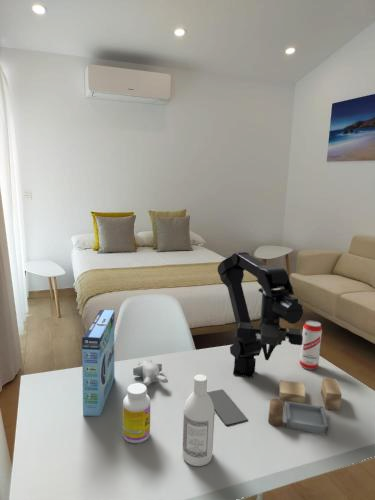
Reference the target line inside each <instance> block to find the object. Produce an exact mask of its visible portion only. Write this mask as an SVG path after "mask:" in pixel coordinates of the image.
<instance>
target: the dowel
mask: <svg viewBox="0 0 375 500" xmlns="http://www.w3.org/2000/svg"><path fill="white" fill-rule="evenodd" d="M284 408H285V401H282V400H281V399H280V398H277V397H275V398H274V397H273V398H271V399H270V400H269V409H268V410H269V411H268V420H267V421H268V424H269V425H270V426H272V427H275V428H279V427H282V426H283V418H284Z"/></svg>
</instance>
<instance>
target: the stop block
mask: <svg viewBox="0 0 375 500" xmlns="http://www.w3.org/2000/svg"><path fill="white" fill-rule="evenodd" d="M320 390H321V391H320V394H321V399H322V404H323V408H324V409H328V410H333V411H340V410H341V403H342V395H343V393H342V392H341V388H340V385H339V383H338V380H337V379H335V378H333V379H332V378H327V377H326V378H325V377H323V378H322V380H321V389H320Z"/></svg>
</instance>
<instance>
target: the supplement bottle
mask: <svg viewBox="0 0 375 500" xmlns="http://www.w3.org/2000/svg"><path fill="white" fill-rule="evenodd" d="M126 389H127V390H126V393H127V394H126V396H125V397H124V398H123V402H122V407H123V408H122V435H123V436H122V437H123V438H124V440H125V441H127V442H129V443H130V444H131V443H132V444H139V443H143V442H145V441H146V440H147V439H148V438H149V437H150V435H151V398H150V396H149V395H148V394H147V393H148V392H147V386H145V385H144V384H143V383H140V382H139V383H137V382H136V383H132V384H129V386H128V387H127V388H126Z"/></svg>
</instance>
